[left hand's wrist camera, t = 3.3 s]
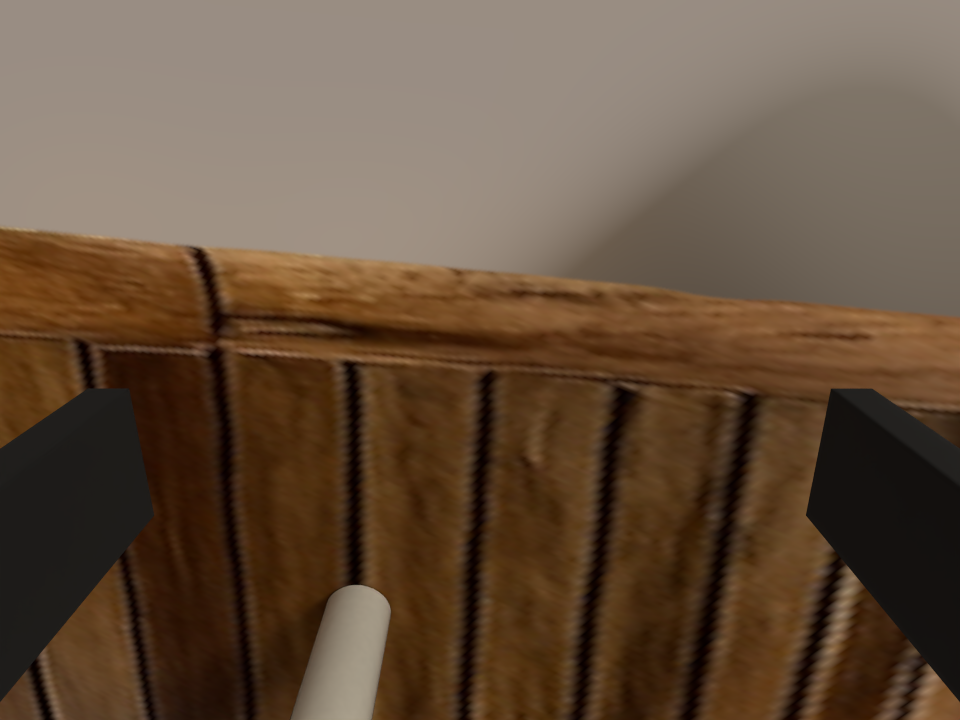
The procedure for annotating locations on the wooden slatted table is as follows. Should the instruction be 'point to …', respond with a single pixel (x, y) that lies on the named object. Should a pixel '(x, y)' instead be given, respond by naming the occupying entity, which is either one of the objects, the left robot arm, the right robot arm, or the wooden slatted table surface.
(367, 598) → the bottle
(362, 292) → the wooden slatted table surface
